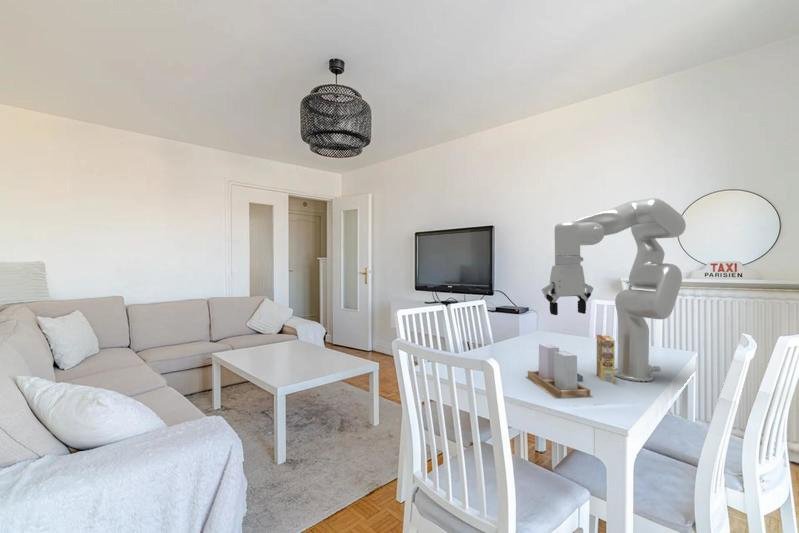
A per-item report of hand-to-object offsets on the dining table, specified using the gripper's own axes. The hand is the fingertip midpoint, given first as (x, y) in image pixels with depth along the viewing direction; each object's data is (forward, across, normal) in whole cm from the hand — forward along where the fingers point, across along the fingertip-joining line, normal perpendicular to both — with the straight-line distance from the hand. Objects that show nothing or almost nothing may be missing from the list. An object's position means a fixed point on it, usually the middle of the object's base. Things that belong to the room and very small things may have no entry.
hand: (567, 313), depth 119 cm
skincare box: (+24, +4, +5) cm, 25 cm away
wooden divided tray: (+25, +4, 0) cm, 25 cm away
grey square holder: (+25, -5, -6) cm, 26 cm away
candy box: (+26, -18, -6) cm, 32 cm away
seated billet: (+24, +4, -5) cm, 24 cm away
